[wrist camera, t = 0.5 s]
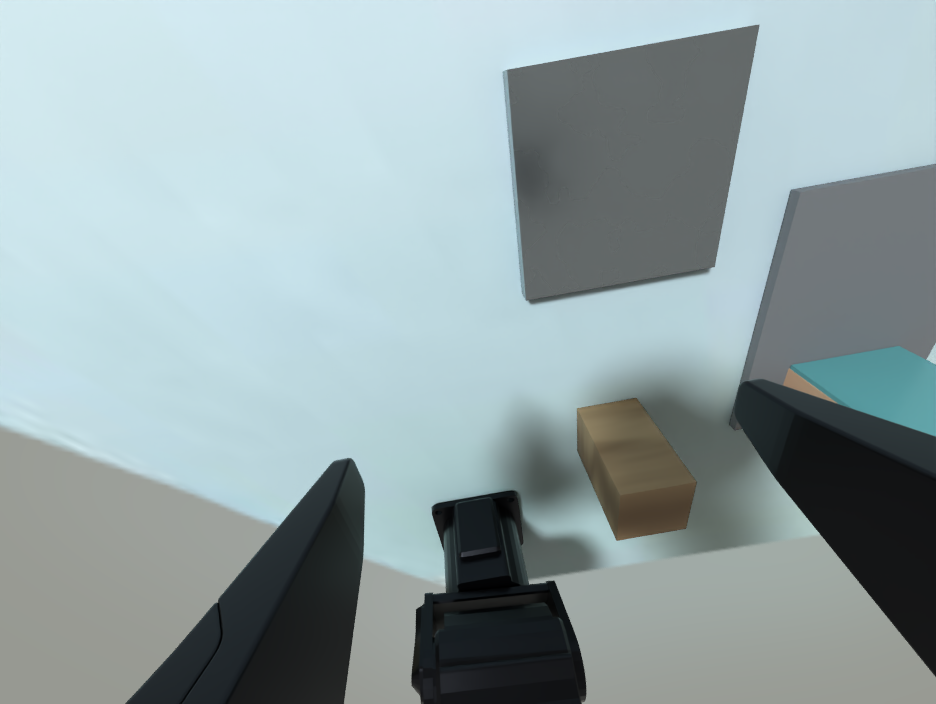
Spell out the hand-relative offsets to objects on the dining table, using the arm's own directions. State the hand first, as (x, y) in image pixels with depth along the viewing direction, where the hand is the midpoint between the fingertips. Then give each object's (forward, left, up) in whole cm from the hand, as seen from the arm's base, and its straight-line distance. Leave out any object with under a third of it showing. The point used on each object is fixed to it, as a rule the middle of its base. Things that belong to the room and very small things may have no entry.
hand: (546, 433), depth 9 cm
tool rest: (+2, -7, -13) cm, 15 cm away
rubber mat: (-8, -22, -13) cm, 27 cm away
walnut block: (-14, -7, -13) cm, 20 cm away
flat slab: (-12, -22, -13) cm, 28 cm away
